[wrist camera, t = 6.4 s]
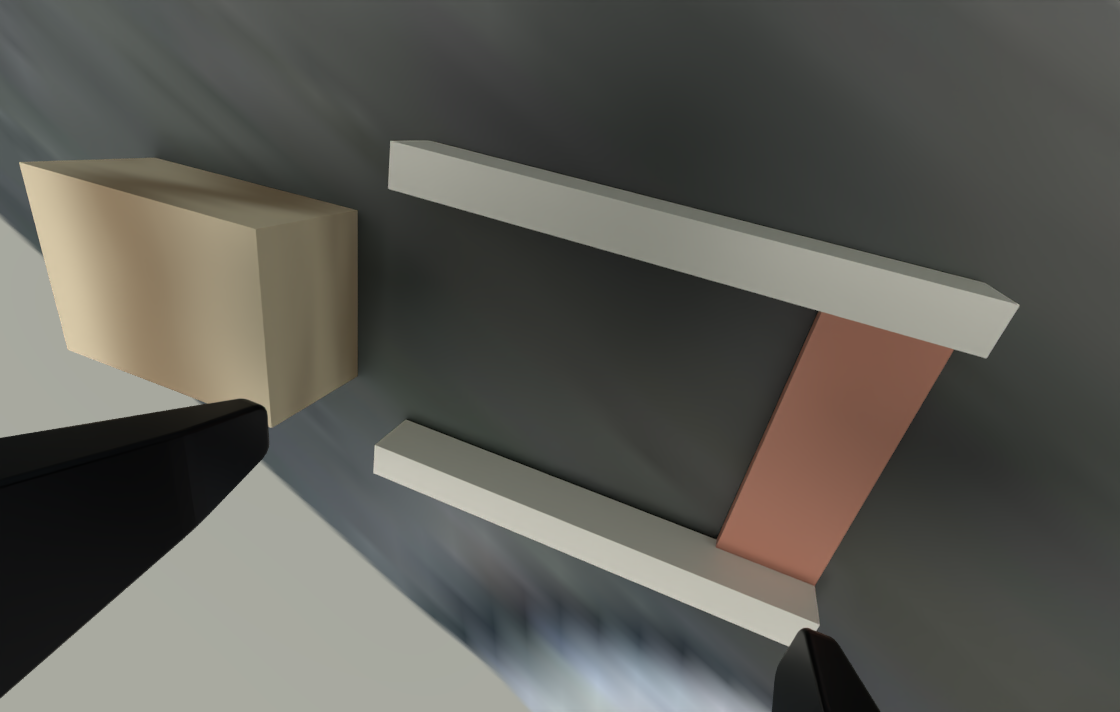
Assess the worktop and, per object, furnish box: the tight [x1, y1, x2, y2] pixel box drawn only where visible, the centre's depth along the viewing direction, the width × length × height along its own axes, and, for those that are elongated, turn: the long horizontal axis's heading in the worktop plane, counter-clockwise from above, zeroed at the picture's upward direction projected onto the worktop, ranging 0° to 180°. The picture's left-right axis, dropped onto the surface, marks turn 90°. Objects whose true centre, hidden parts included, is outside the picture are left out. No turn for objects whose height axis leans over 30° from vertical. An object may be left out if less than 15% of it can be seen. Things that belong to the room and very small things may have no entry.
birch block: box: [19, 158, 358, 428], centre depth 14 cm, size 7×5×4 cm
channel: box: [373, 140, 1020, 646], centre depth 13 cm, size 12×9×2 cm
